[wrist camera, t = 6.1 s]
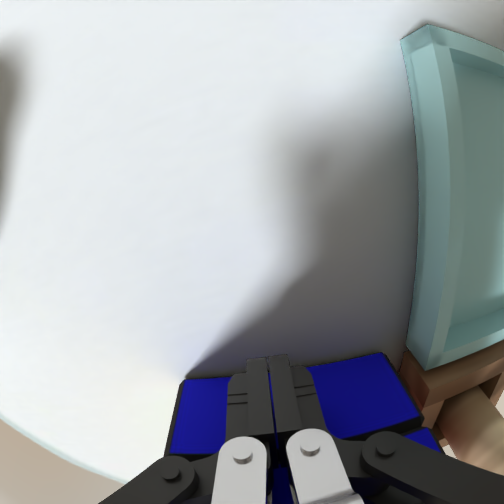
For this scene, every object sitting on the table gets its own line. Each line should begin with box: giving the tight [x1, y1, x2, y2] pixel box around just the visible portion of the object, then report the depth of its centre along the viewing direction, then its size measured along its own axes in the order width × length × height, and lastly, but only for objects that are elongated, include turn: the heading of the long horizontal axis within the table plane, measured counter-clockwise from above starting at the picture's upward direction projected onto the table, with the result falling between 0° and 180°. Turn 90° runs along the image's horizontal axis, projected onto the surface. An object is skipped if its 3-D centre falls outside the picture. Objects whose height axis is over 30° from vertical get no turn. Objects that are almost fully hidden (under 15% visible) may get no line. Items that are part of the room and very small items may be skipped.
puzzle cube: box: [164, 352, 446, 504], centre depth 10 cm, size 10×10×10 cm
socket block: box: [399, 339, 504, 447], centre depth 13 cm, size 7×7×3 cm
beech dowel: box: [436, 385, 504, 476], centre depth 9 cm, size 3×3×11 cm
